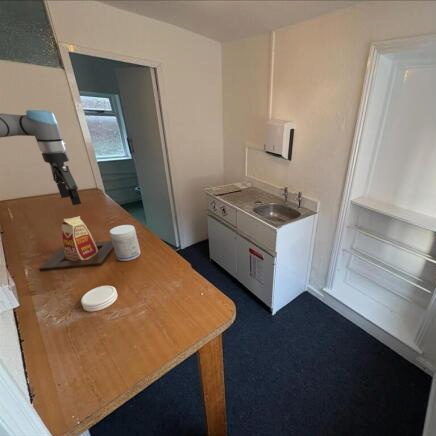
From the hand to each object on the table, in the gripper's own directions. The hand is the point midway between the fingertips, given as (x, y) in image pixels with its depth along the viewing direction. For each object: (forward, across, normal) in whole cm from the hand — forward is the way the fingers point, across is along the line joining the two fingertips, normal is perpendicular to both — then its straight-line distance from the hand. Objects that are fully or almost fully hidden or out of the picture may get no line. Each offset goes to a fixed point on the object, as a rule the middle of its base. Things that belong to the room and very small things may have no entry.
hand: (71, 200), depth 103 cm
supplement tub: (+26, -21, -9) cm, 34 cm away
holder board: (+26, -4, +3) cm, 26 cm away
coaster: (+26, -43, +10) cm, 52 cm away
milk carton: (+26, -4, +3) cm, 26 cm away
